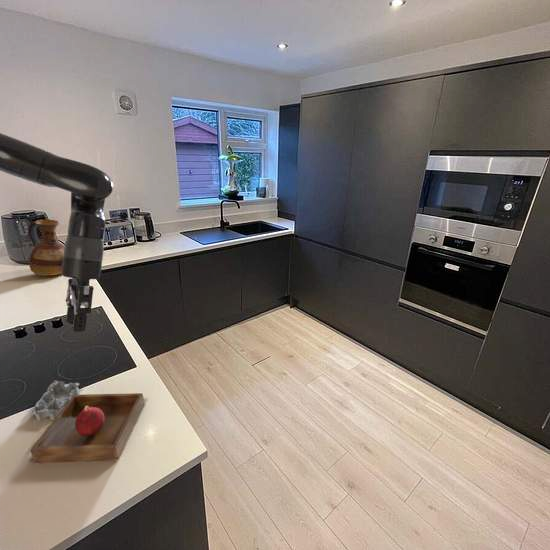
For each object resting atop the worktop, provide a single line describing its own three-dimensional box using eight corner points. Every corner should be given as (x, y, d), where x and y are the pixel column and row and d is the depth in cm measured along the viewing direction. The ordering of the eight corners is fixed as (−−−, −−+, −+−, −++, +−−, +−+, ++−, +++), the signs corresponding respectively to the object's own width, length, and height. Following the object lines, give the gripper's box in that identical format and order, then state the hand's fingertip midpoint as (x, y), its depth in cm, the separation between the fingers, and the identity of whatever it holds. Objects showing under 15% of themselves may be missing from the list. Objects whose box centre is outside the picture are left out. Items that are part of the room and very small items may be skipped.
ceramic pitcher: (59, 280, 154) (44, 224, 143) (22, 279, 154) (4, 223, 143) (83, 267, 172) (71, 217, 161) (50, 266, 172) (35, 216, 161)
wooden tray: (35, 463, 62) (29, 450, 61) (77, 405, 77) (73, 394, 75) (118, 460, 63) (115, 447, 62) (144, 404, 78) (142, 393, 76)
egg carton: (59, 389, 82) (55, 378, 80) (85, 390, 82) (82, 378, 80) (29, 421, 72) (24, 408, 70) (59, 421, 72) (54, 409, 70)
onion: (112, 430, 70) (105, 405, 67) (86, 448, 65) (78, 422, 62) (99, 418, 73) (93, 394, 70) (74, 435, 68) (66, 409, 65)
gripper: (58, 253, 68) (50, 320, 69) (69, 256, 58) (59, 335, 59) (94, 257, 74) (87, 319, 74) (110, 261, 64) (101, 333, 64)
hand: (75, 326), depth 66 cm, fingers open, 8 cm apart
